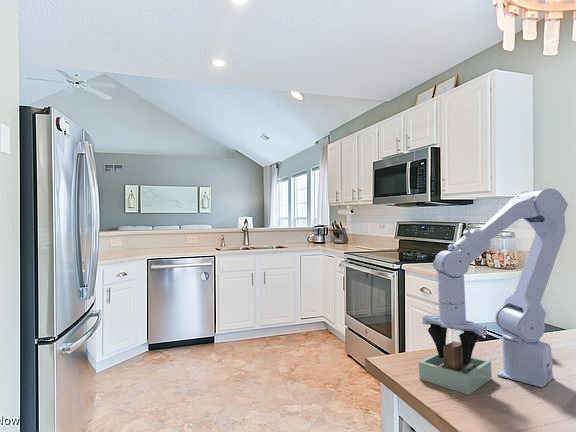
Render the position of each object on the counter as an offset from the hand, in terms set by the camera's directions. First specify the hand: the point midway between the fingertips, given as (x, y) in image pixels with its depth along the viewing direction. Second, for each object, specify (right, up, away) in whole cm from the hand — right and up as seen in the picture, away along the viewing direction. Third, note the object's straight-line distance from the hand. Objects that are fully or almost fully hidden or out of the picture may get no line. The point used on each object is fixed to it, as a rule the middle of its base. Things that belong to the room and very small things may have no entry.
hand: (454, 360), depth 89 cm
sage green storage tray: (0, -4, 0) cm, 4 cm away
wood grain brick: (0, -4, 0) cm, 4 cm away
